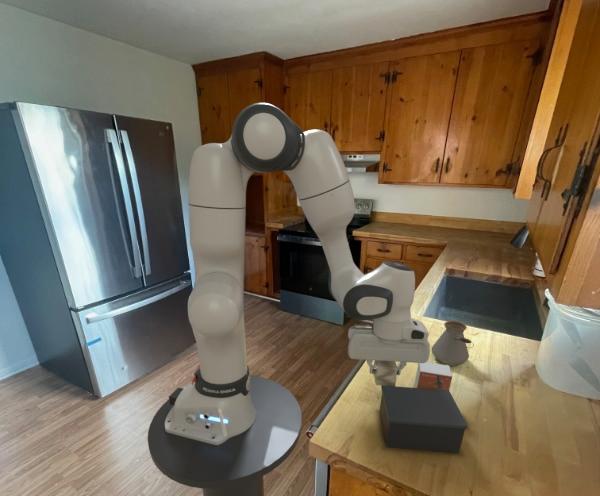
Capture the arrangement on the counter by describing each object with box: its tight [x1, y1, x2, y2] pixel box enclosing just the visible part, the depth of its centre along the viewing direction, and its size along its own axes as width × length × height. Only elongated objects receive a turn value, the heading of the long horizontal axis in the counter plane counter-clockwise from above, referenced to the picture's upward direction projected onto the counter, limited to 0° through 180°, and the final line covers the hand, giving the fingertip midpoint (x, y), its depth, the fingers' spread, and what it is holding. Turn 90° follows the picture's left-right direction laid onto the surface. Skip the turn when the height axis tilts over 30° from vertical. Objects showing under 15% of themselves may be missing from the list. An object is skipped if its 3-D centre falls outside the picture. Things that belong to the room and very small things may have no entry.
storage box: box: [379, 385, 469, 454], centre depth 78 cm, size 17×13×8 cm
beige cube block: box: [373, 360, 398, 387], centre depth 87 cm, size 5×6×6 cm
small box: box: [413, 361, 453, 391], centre depth 88 cm, size 8×6×10 cm
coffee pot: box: [431, 320, 475, 367], centre depth 103 cm, size 21×12×15 cm, turn 169°
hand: (384, 373), depth 87 cm, fingers closed on beige cube block, 5 cm apart
